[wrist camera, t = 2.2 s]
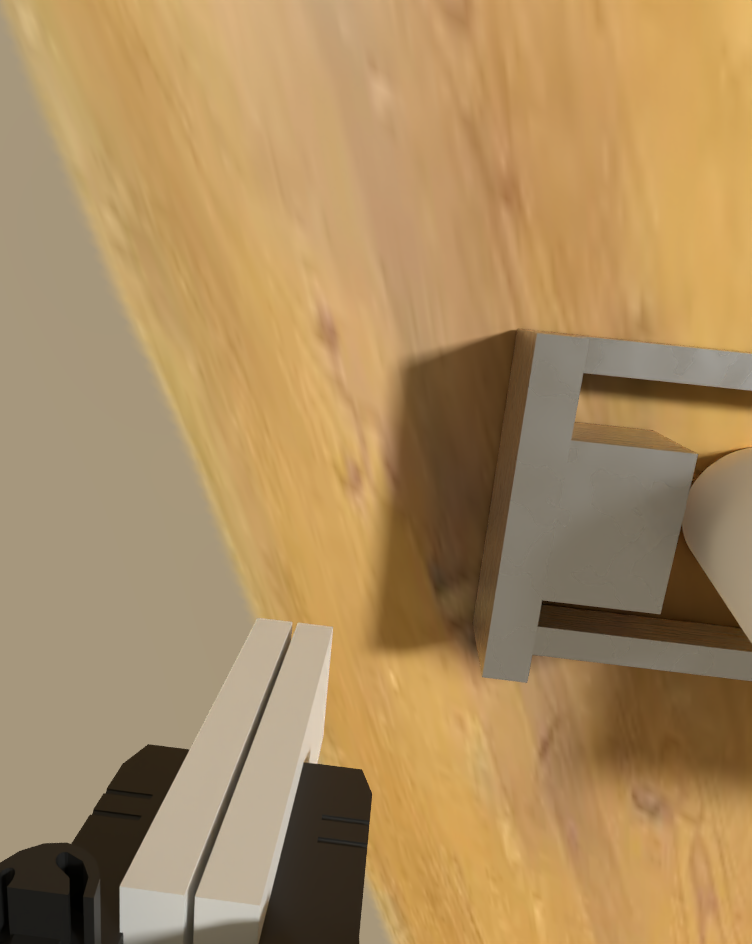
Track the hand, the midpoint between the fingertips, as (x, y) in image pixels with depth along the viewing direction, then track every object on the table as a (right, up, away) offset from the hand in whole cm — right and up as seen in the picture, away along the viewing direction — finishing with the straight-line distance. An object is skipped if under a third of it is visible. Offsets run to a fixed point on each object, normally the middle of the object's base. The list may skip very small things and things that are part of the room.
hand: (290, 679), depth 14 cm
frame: (+15, +3, +17) cm, 23 cm away
